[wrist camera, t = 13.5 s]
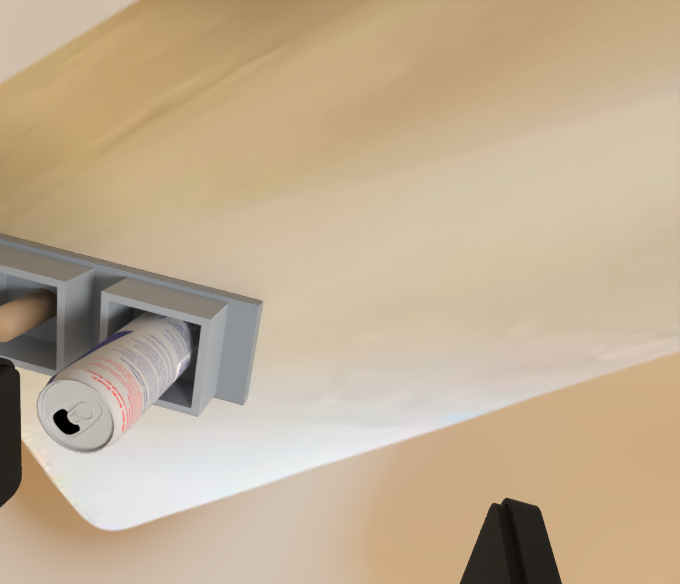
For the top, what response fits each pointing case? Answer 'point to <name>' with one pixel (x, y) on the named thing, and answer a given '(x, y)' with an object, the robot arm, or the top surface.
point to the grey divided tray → (120, 318)
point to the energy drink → (116, 382)
